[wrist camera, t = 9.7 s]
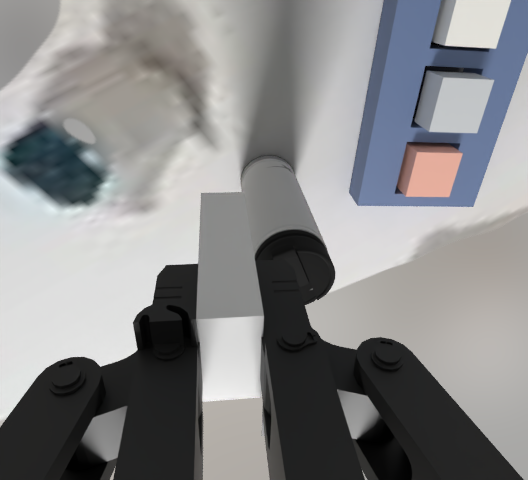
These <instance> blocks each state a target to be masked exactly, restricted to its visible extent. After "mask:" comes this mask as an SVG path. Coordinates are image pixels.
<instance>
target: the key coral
mask: <svg viewBox="0 0 528 480" xmlns="http://www.w3.org/2000/svg"><path fill="white" fill-rule="evenodd" d="M462 155H463V153H462V152H460V151H459V150H457V149H456V148H454V147H453V146H451V145H450V144H448V143H430V142H407V144H406V148H405V152H404V156H403V161H402V165H401V169H400V173H399V177H398V181H397V185H396V186H397V187H398V189H399V190H400V191H401V192H402V193H403V194H404V195H405V196H406V197H449V196H450V193H451V190H452V186H453V183H454V180H455V177H456V174H457V171H458V167H459V164H460V161H461V158H462Z"/></svg>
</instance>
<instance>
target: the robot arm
mask: <svg viewBox="0 0 528 480" xmlns="http://www.w3.org/2000/svg"><path fill="white" fill-rule="evenodd" d="M133 325H134V331H135V337H136V343H137V348H138V350H137V351H136V352H135V353H134V354H132V355H131V356H129V357H127V358H125V359H123V360H120V361H118V362H115V363H112V364H108V365H105V366H102V367H100V366H99V365H98V364H97V363H96V362H95V361H94V360H92V359H89V358H85V357H71V358H67V359H64V360H61V361H58V362H56V363H54V364H53V365H51V366H49V367H47V368H46V369H45V370H44V371H43V372H42V373H41V374H40V375H39V376H38V377H37V378H36V380H35V381H34V382H33V384H32V385H31V386H30V388H29V389H28V390H27V392H26V393H25V395H24V396H23V397H22V399H21V400H20V401H19V403H18V404H17V405H16V407H15V408H14V409H13V411H12V412H11V413H10V415H9V416H8V417H7V419H6V420H5V422H4V423H3V424H2V426H1V427H0V480H110V477H111V475H112V473H113V471H114V468H115V466H116V468H115V473H114V479H113V480H203V412H202V402H204V401H217V400H231V399H245V398H258V397H261V391H262V398H263V415H262V436H265V442H266V451H267V460H268V468H269V476H270V480H365V479H364V476H363V473H362V470H363V472H364V474H365V476H366V478H367V479H368V480H523V478H522V477H521V476H520V475H519V474H518V473H517V472H516V471H515V469H514V468H513V467H512V466H511V465H510V464H509V462H508V461H507V460H506V459H505V458H504V457H503V456H502V455H501V453H500V452H499V451H498V450H497V449H496V448H495V446H494V445H493V444H492V443H491V442H490V441H489V440H488V438H487V437H486V436H485V435H484V434H483V433H482V432H481V431H480V429H479V428H478V427H477V426H476V425H475V424H474V423H473V421H472V420H471V419H470V418H469V417H468V416H467V415H466V413H465V412H464V411H463V410H462V409H461V408H460V407H459V405H458V404H457V403H456V402H455V401H454V400H453V399H452V398H451V396H450V395H449V394H448V393H447V392H446V391H445V389H444V388H443V387H442V386H441V385H440V384H439V383H438V381H437V380H436V379H435V378H434V377H433V376H432V375H431V373H430V372H429V371H428V370H427V369H426V368H425V367H424V365H423V364H422V363H421V362H420V361H419V360H418V359H417V357H416V356H415V355H414V354H413V353H412V352H411V351H410V350H409V349H408V348H407V347H405V346H404V345H403V344H401V343H399V342H396V341H394V340H392V339H386V338H381V337H380V338H370V339H368V340H366V341H364V342H362V343H361V345H360V346H359V347H358V349H357V350H355V349H349V348H344V347H339V346H336V345H332V344H330V343H328V342H326V341H324V340H322V339H321V338H320V336H319V334H318V333H317V332H316V331H315V330H314V329H312V327H311V326H310V322H309V319H308V315H307V312H306V309H305V305H304V302H303V298H302V295H301V292H300V288H299V285H298V282H297V278H296V274H295V271H294V269H293V268H292V267H291V266H290V265H289V264H288V263H287V262H286V261H285V260H259V261H255V257H254V251H253V245H252V239H251V233H250V227H249V220H248V214H247V208H246V202H245V196H244V192H231V193H201V211H200V236H199V260H198V264H185V265H166V266H165V268H164V269H163V270H162V271H161V272H160V273H159V275H158V276H157V281H156V287H155V293H154V300H153V304H152V305H151V306H148V307H146V308H144V309H143V310H142V311H141V312H140V313H139V314H137V316H136V318H135V320H134V322H133Z"/></svg>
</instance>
